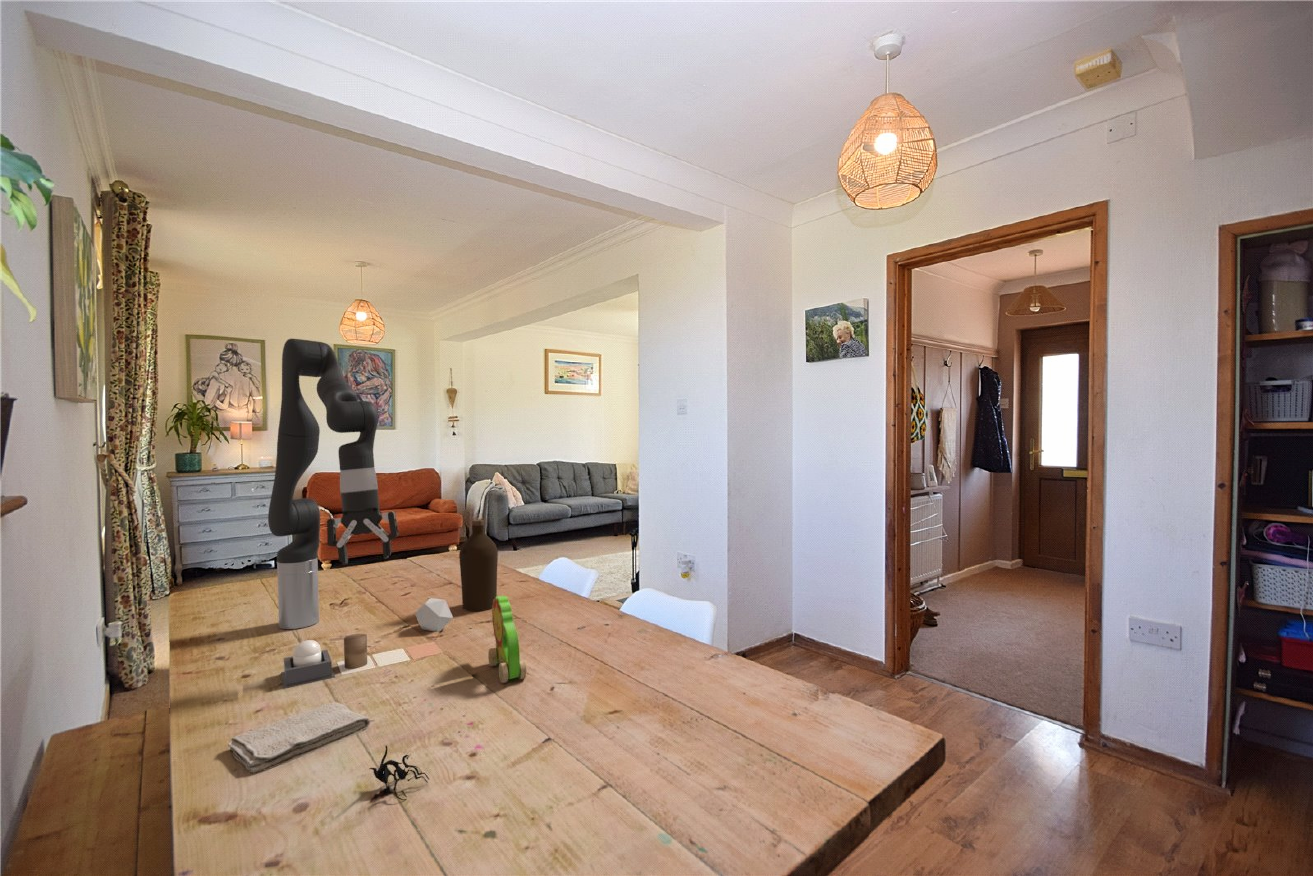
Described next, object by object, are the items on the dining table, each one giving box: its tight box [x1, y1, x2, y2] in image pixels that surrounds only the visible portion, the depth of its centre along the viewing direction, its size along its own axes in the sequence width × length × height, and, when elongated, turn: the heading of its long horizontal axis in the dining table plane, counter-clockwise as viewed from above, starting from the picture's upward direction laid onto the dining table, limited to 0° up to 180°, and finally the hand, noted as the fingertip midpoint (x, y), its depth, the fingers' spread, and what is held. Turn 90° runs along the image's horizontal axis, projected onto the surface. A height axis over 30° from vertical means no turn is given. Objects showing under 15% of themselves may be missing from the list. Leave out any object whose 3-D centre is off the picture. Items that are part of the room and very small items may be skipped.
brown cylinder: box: [343, 633, 368, 669], centre depth 128 cm, size 4×4×6 cm
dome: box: [292, 639, 322, 668], centre depth 123 cm, size 5×5×6 cm
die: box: [414, 597, 454, 633], centre depth 152 cm, size 8×9×10 cm
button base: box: [280, 649, 336, 689], centre depth 123 cm, size 9×9×4 cm
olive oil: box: [458, 518, 499, 612], centre depth 172 cm, size 11×11×25 cm
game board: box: [336, 641, 444, 676], centre depth 132 cm, size 10×22×1 cm, turn 124°
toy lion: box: [487, 595, 527, 684], centre depth 127 cm, size 16×5×15 cm, turn 27°
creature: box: [368, 745, 430, 801], centre depth 86 cm, size 8×5×8 cm
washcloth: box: [227, 701, 371, 774], centre depth 99 cm, size 12×18×3 cm, turn 143°
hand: (365, 560), depth 134 cm, fingers open, 8 cm apart
